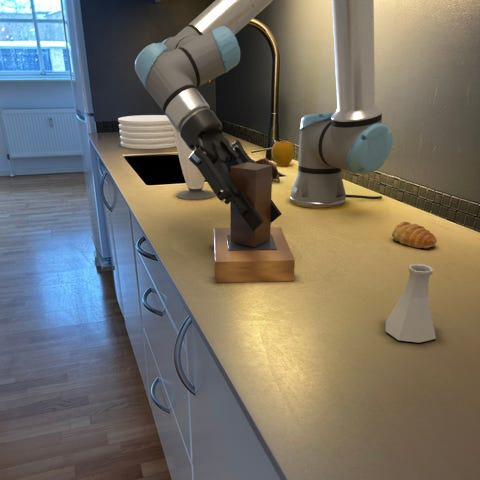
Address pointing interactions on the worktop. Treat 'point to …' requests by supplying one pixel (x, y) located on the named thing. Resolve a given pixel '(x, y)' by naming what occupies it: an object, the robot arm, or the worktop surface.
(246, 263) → the wooden slab
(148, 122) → the plate stack
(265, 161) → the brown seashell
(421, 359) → the worktop surface
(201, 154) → the robot arm
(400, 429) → the worktop surface
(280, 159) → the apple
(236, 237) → the box
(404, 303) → the flask
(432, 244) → the pastry
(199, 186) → the cup
